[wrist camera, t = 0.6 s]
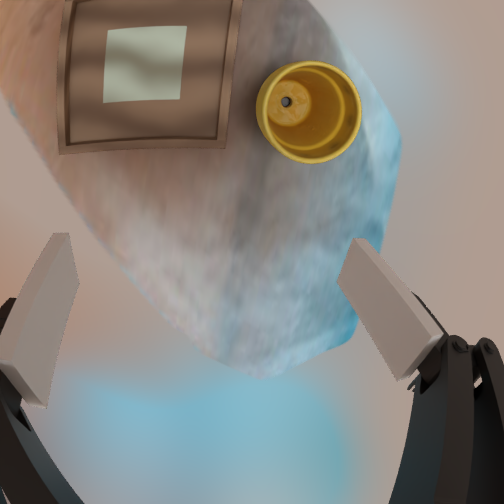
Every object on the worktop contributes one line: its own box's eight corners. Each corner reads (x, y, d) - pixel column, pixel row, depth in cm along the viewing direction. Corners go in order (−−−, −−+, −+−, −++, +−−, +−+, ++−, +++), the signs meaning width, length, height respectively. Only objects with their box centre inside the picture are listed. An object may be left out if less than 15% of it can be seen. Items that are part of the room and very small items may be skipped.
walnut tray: (73, -1, 18) (66, -5, 16) (241, -9, 23) (244, -15, 21) (66, 149, 29) (59, 155, 27) (222, 143, 34) (225, 148, 32)
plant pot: (224, 99, 31) (238, 107, 23) (289, 47, 28) (324, 40, 20) (278, 157, 36) (306, 184, 29) (337, 108, 34) (379, 123, 26)
